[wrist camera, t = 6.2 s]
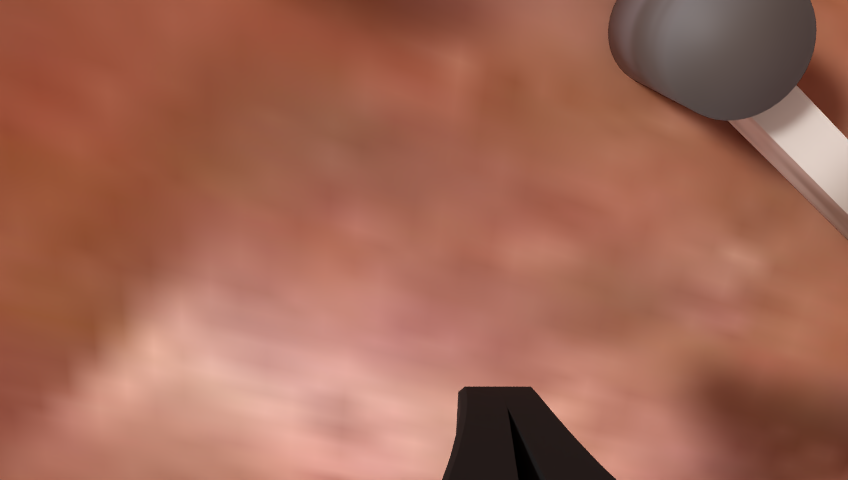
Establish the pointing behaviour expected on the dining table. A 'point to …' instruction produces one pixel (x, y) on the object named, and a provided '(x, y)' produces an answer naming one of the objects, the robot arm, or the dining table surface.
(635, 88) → the dining table surface
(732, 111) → the lever
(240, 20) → the dining table surface
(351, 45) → the dining table surface
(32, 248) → the dining table surface
